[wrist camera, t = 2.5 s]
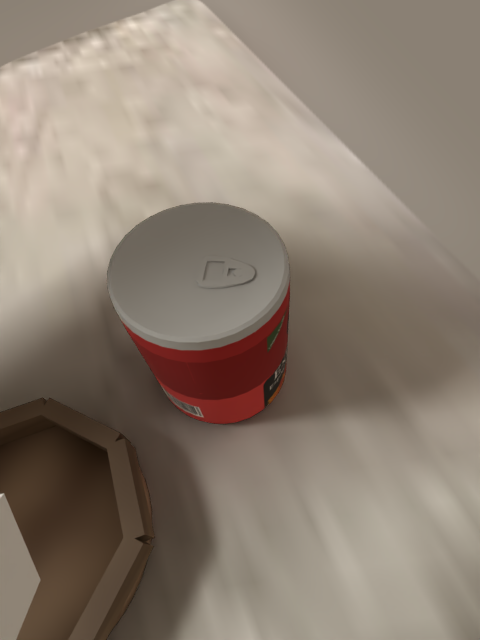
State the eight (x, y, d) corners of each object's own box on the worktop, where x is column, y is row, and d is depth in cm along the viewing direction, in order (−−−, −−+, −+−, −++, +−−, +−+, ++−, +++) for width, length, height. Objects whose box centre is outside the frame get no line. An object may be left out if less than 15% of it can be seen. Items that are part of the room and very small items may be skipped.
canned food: (297, 417, 26) (308, 326, 17) (165, 438, 26) (101, 358, 17) (274, 311, 30) (273, 188, 21) (160, 328, 30) (106, 213, 20)
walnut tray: (-136, 601, 23) (-189, 604, 20) (23, 390, 28) (-3, 371, 26) (55, 751, 19) (21, 778, 17) (193, 476, 25) (184, 464, 22)
